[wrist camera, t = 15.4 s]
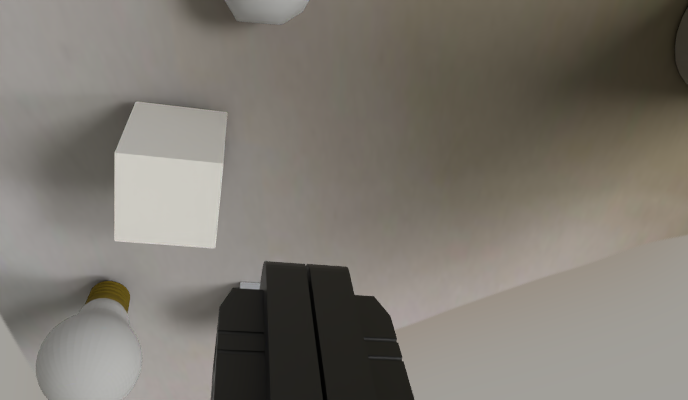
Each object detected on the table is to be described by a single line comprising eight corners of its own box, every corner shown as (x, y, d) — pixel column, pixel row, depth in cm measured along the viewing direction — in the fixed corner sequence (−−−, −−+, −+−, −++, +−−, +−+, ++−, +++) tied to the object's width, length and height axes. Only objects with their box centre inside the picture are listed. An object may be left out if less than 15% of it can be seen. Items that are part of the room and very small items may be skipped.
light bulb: (173, 296, 45) (155, 408, 36) (106, 333, 45) (73, 449, 37) (119, 239, 42) (85, 346, 33) (48, 279, 42) (-3, 393, 34)
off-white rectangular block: (227, 112, 37) (223, 163, 31) (220, 188, 39) (215, 248, 34) (135, 101, 36) (114, 152, 30) (134, 180, 38) (114, 241, 33)
